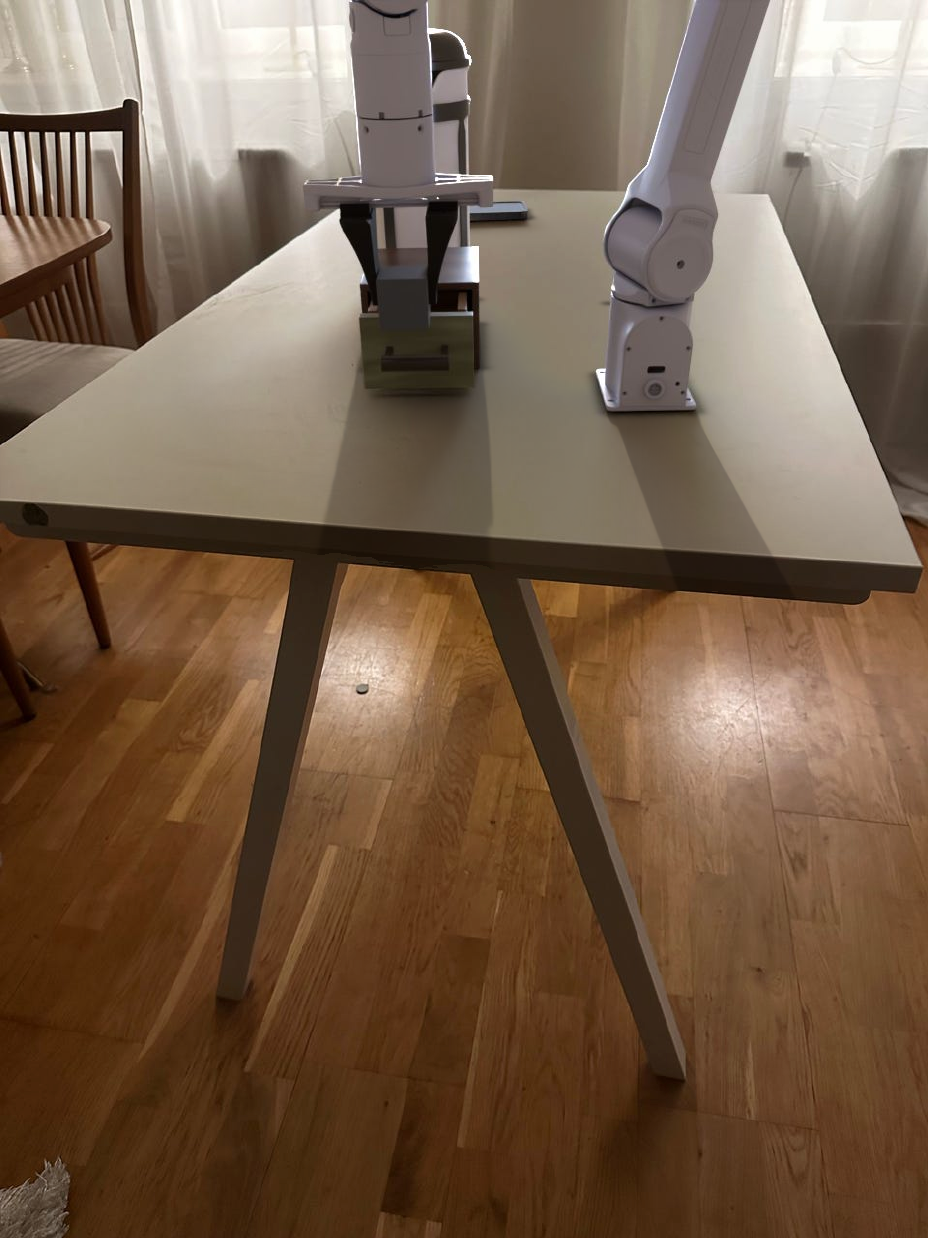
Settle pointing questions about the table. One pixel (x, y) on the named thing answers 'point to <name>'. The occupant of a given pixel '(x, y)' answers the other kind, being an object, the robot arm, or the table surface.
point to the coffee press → (438, 145)
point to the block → (403, 297)
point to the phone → (499, 211)
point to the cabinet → (454, 275)
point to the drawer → (421, 348)
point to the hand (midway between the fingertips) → (405, 301)
